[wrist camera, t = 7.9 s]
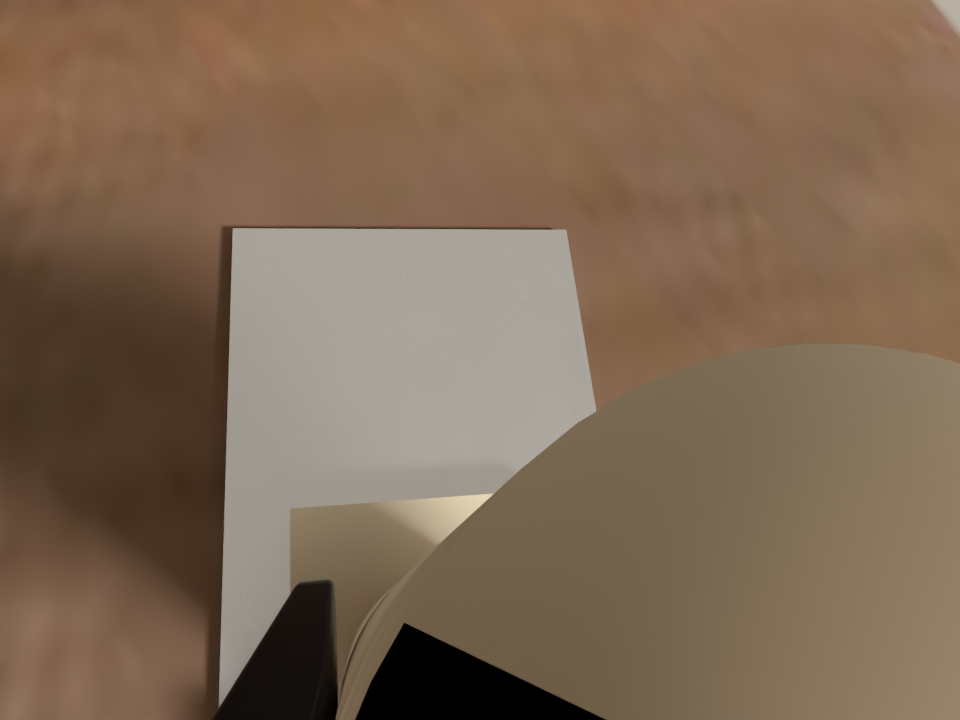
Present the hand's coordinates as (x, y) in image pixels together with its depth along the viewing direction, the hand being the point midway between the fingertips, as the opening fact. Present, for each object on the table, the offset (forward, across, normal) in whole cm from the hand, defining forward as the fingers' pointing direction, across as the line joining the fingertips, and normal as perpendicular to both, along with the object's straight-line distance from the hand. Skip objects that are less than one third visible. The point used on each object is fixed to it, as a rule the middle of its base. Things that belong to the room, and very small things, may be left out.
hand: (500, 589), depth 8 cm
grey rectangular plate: (+9, 0, +2) cm, 9 cm away
